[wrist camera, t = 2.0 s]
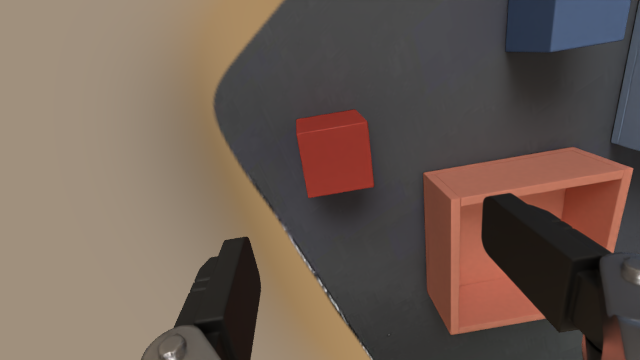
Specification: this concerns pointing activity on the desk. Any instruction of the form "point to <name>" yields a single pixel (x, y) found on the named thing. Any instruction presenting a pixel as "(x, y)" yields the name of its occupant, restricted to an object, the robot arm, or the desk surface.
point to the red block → (335, 153)
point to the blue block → (564, 24)
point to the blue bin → (630, 96)
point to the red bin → (466, 225)
